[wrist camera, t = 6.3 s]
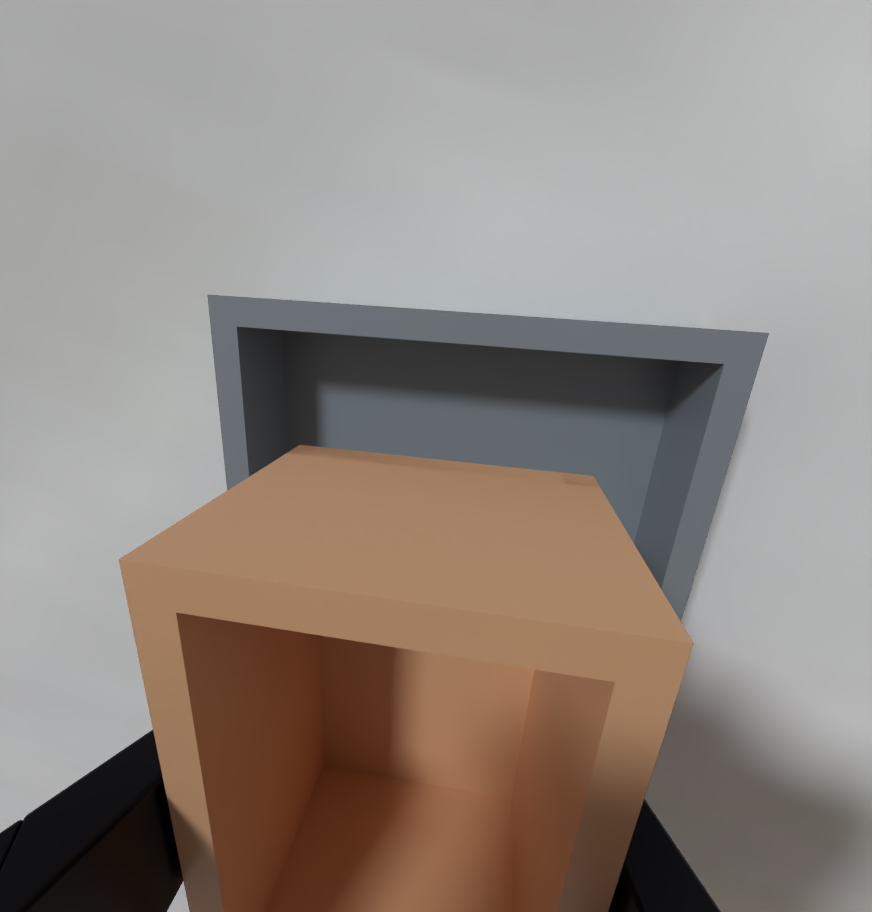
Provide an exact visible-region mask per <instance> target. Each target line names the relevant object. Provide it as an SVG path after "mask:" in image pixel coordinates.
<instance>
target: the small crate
mask: <svg viewBox="0 0 872 912" xmlns="http://www.w3.org/2000/svg"><path fill="white" fill-rule="evenodd" d="M119 563H120V568H121V573H122V578H123V583H124V588H125V593H126V598H127V603H128V608H129V612H130V617H131V622H132V627H133V632H134V637H135V642H136V647H137V652H138V657H139V662H140V667H141V672H142V677H143V682H144V687H145V692H146V697H147V702H148V707H149V712H150V717H151V722H152V727H153V732H154V737H155V742H156V746H157V751H158V756H159V761H160V766H161V771H162V776H163V781H164V786H165V791H166V796H167V801H168V806H169V811H170V816H171V821H172V826H173V831H174V836H175V841H176V846H177V851H178V856H179V861H180V866H181V871H182V875H183V880H184V885H185V890H186V895H187V900H188V905H189V910H190V912H608V911H609V908H610V904H611V901H612V898H613V895H614V892H615V889H616V886H617V882H618V879H619V876H620V873H621V870H622V867H623V864H624V860H625V857H626V854H627V851H628V848H629V845H630V842H631V838H632V835H633V832H634V829H635V826H636V823H637V820H638V816H639V813H640V810H641V807H642V804H643V801H644V798H645V794H646V791H647V788H648V785H649V782H650V779H651V776H652V772H653V769H654V766H655V763H656V760H657V757H658V754H659V750H660V747H661V744H662V741H663V738H664V735H665V732H666V728H667V725H668V722H669V719H670V716H671V713H672V710H673V706H674V703H675V700H676V697H677V694H678V691H679V688H680V684H681V681H682V678H683V675H684V672H685V669H686V666H687V662H688V659H689V656H690V653H691V650H692V647H693V644H694V643H693V642H692V640H691V638H690V637H689V635H688V633H687V632H686V630H685V628H684V627H683V625H682V623H681V622H680V620H679V618H678V616H677V615H676V613H675V611H674V610H673V608H672V606H671V605H670V603H669V601H668V600H667V598H666V596H665V595H664V593H663V591H662V590H661V588H660V586H659V585H658V583H657V581H656V580H655V578H654V576H653V575H652V573H651V571H650V570H649V568H648V566H647V565H646V563H645V561H644V560H643V558H642V556H641V555H640V553H639V551H638V550H637V548H636V546H635V545H634V543H633V541H632V540H631V538H630V536H629V535H628V533H627V531H626V530H625V528H624V526H623V525H622V523H621V521H620V520H619V518H618V516H617V515H616V513H615V511H614V510H613V508H612V506H611V505H610V503H609V501H608V500H607V498H606V496H605V495H604V493H603V491H602V490H601V488H600V486H599V485H598V483H597V481H596V480H595V478H594V476H589V475H580V474H570V473H561V472H552V471H542V470H533V469H523V468H514V467H504V466H495V465H486V464H476V463H467V462H457V461H448V460H438V459H429V458H420V457H410V456H401V455H391V454H382V453H372V452H363V451H353V450H344V449H335V448H325V447H316V446H306V445H299V446H297V447H296V448H294V449H292V450H291V451H289V452H288V453H286V454H284V455H283V456H281V457H280V458H278V459H277V460H275V461H273V462H272V463H270V464H269V465H267V466H266V467H264V468H262V469H261V470H259V471H258V472H256V473H255V474H253V475H251V476H250V477H248V478H247V479H245V480H243V481H242V482H240V483H239V484H237V485H236V486H234V487H232V488H231V489H229V490H228V491H226V492H225V493H223V494H221V495H220V496H218V497H217V498H215V499H214V500H212V501H210V502H209V503H207V504H206V505H204V506H202V507H201V508H199V509H198V510H196V511H195V512H193V513H191V514H190V515H188V516H187V517H185V518H184V519H182V520H180V521H179V522H177V523H176V524H174V525H173V526H171V527H169V528H168V529H166V530H165V531H163V532H161V533H160V534H158V535H157V536H155V537H154V538H152V539H150V540H149V541H147V542H146V543H144V544H143V545H141V546H139V547H138V548H136V549H135V550H133V551H132V552H130V553H128V554H127V555H125V556H124V557H122V558H120V559H119Z"/></svg>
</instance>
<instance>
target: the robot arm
mask: <svg viewBox="0 0 872 912" xmlns="http://www.w3.org/2000/svg"><path fill="white" fill-rule="evenodd" d="M182 882H183V875H182V871H181V866H180V861H179V856H178V851H177V846H176V841H175V836H174V831H173V826H172V821H171V816H170V811H169V806H168V801H167V796H166V791H165V786H164V781H163V776H162V771H161V766H160V761H159V756H158V751H157V746H156V742H155V737H154V732H153V730H152V731H150V732H149V733H147V734H146V735H144V736H143V737H141V738H140V739H138V740H137V741H135V742H134V743H132V744H131V745H129V746H128V747H127V748H125V749H124V750H122V751H121V752H119V753H118V754H116V755H115V756H113V757H112V758H110V759H109V760H107V761H106V762H104V763H103V764H101V765H100V766H99V767H97V768H96V769H94V770H93V771H91V772H90V773H88V774H87V775H85V776H84V777H82V778H81V779H79V780H78V781H76V782H75V783H74V784H72V785H71V786H69V787H68V788H66V789H65V790H63V791H62V792H60V793H59V794H57V795H56V796H54V797H53V798H51V799H50V800H48V801H47V802H46V803H44V804H43V805H41V806H40V807H38V808H37V809H35V810H34V811H32V812H31V813H29V814H28V815H27V816H26V817H25V818H24V820H19V821H17V822H16V823H14V824H13V825H11V826H10V827H8V828H7V829H5V830H4V831H3V832H1V833H0V912H167V910H168V908H169V906H170V904H171V903H172V901H173V899H174V897H175V895H176V893H177V891H178V890H179V888H180V886H181V884H182ZM608 912H721V911H720V910H719V909H718V907H717V906H716V904H715V903H714V901H713V900H712V898H711V897H710V895H709V894H708V892H707V891H706V889H705V888H704V886H703V885H702V883H701V882H700V880H699V879H698V877H697V876H696V874H695V873H694V871H693V870H692V869H691V867H690V866H689V864H688V863H687V861H686V860H685V858H684V857H683V855H682V854H681V852H680V851H679V849H678V848H677V846H676V845H675V843H674V842H673V840H672V839H671V837H670V836H669V834H668V833H667V831H666V830H665V828H664V827H663V826H662V824H661V823H660V821H659V820H658V818H657V817H656V815H655V814H654V812H653V811H652V809H651V808H650V806H649V805H648V803H647V802H646V800H645V799H644V801H643V804H642V807H641V810H640V813H639V816H638V820H637V823H636V826H635V829H634V832H633V835H632V838H631V842H630V845H629V848H628V851H627V854H626V857H625V860H624V864H623V867H622V870H621V873H620V876H619V879H618V882H617V886H616V889H615V892H614V895H613V898H612V901H611V904H610V908H609V911H608Z"/></svg>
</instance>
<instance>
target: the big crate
mask: <svg viewBox="0 0 872 912" xmlns="http://www.w3.org/2000/svg"><path fill="white" fill-rule="evenodd" d="M208 304H209V314H210V324H211V334H212V344H213V354H214V364H215V373H216V383H217V393H218V403H219V413H220V423H221V433H222V442H223V452H224V462H225V472H226V482H227V491H228V490H229V489H231V488H232V487H234V486H236V485H237V484H239V483H240V482H242V481H243V480H245V479H247V478H248V477H250V476H251V475H253V474H255V473H256V472H258V471H259V470H261V469H262V468H264V467H266V466H267V465H269V464H270V463H272V462H273V461H275V460H277V459H278V458H280V457H281V456H283V455H284V454H286V453H288V452H289V451H291V450H292V449H294V448H296V447H297V446H299V445H306V446H316V447H325V448H335V449H344V450H353V451H363V452H372V453H382V454H391V455H401V456H410V457H420V458H429V459H438V460H448V461H457V462H467V463H476V464H486V465H495V466H504V467H514V468H523V469H533V470H542V471H552V472H561V473H570V474H580V475H589V476H594V478H595V480H596V481H597V483H598V485H599V486H600V488H601V490H602V491H603V493H604V495H605V496H606V498H607V500H608V501H609V503H610V505H611V506H612V508H613V510H614V511H615V513H616V515H617V516H618V518H619V520H620V521H621V523H622V525H623V526H624V528H625V530H626V531H627V533H628V535H629V536H630V538H631V540H632V541H633V543H634V545H635V546H636V548H637V550H638V551H639V553H640V555H641V556H642V558H643V560H644V561H645V563H646V565H647V566H648V568H649V570H650V571H651V573H652V575H653V576H654V578H655V580H656V581H657V583H658V585H659V586H660V588H661V590H662V591H663V593H664V595H665V596H666V598H667V600H668V601H669V603H670V605H671V606H672V608H673V610H674V611H675V613H676V615H677V616H678V618H679V620H680V622H681V619H682V616H683V612H684V609H685V606H686V602H687V599H688V596H689V593H690V589H691V586H692V583H693V580H694V576H695V573H696V570H697V567H698V563H699V560H700V557H701V553H702V550H703V547H704V544H705V540H706V537H707V534H708V531H709V527H710V524H711V521H712V518H713V514H714V511H715V508H716V504H717V501H718V498H719V495H720V491H721V488H722V485H723V482H724V478H725V475H726V472H727V469H728V465H729V462H730V459H731V456H732V452H733V449H734V446H735V442H736V439H737V436H738V433H739V429H740V426H741V423H742V420H743V416H744V413H745V410H746V407H747V403H748V400H749V397H750V393H751V390H752V387H753V384H754V380H755V377H756V374H757V371H758V367H759V364H760V361H761V358H762V354H763V351H764V348H765V345H766V341H767V338H768V335H769V333H760V332H745V331H731V330H716V329H701V328H687V327H672V326H657V325H643V324H628V323H614V322H599V321H584V320H570V319H555V318H540V317H526V316H511V315H497V314H482V313H467V312H453V311H438V310H423V309H409V308H394V307H380V306H365V305H350V304H336V303H321V302H307V301H292V300H277V299H263V298H248V297H233V296H219V295H208Z"/></svg>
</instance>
